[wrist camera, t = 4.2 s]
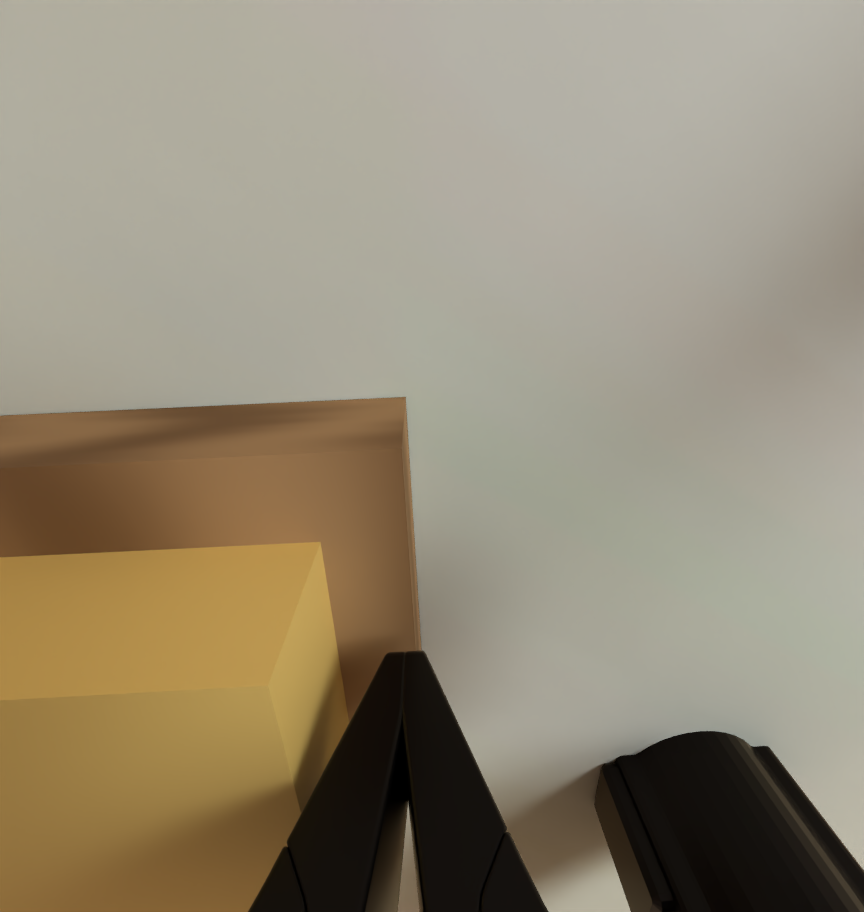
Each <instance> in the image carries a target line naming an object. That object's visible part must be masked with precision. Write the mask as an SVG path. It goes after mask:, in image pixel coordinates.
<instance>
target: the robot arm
mask: <svg viewBox="0 0 864 912" xmlns="http://www.w3.org/2000/svg"><path fill="white" fill-rule="evenodd" d="M408 803H409V812H410V822H411V832H412V841H413V851H414V860H415V870H416V880H417V889H418V899H419V909H420V912H548V910H547V908H546V907H545V905H544V903H543V901H542V899H541V897H540V895H539V893H538V891H537V889H536V887H535V885H534V883H533V881H532V879H531V877H530V875H529V873H528V871H527V869H526V867H525V865H524V863H523V861H522V859H521V856H520V854H519V852H518V850H517V848H516V846H515V844H514V841H513V839H512V837H511V835H510V833H509V832H506V830H507V828H506V825H505V823H504V821H503V818H502V816H501V814H500V812H499V810H498V808H497V806H496V803H495V801H494V799H493V797H492V795H491V793H490V791H489V788H488V786H487V784H486V782H485V780H484V778H483V776H482V773H481V771H480V769H479V767H478V765H477V763H476V761H475V758H474V756H473V754H472V752H471V750H470V748H469V746H468V743H467V741H466V739H465V737H464V735H463V733H462V730H461V728H460V726H459V724H458V722H457V720H456V718H455V715H454V713H453V711H452V709H451V707H450V705H449V703H448V700H447V698H446V696H445V694H444V692H443V690H442V688H441V685H440V683H439V681H438V679H437V677H436V675H435V673H434V670H433V668H432V666H431V664H430V662H429V660H428V658H427V655H426V654H425V652H424V651H406V652H404V651H402V652H388V653H387V654H386V655H385V656H384V658H383V660H382V662H381V664H380V665H379V667H378V669H377V671H376V673H375V675H374V677H373V679H372V681H371V682H370V684H369V686H368V688H367V690H366V692H365V694H364V696H363V698H362V699H361V701H360V703H359V705H358V707H357V709H356V711H355V713H354V715H353V716H352V718H351V720H350V722H349V724H348V726H347V728H346V730H345V732H344V733H343V735H342V737H341V739H340V741H339V743H338V745H337V747H336V749H335V750H334V752H333V754H332V756H331V758H330V760H329V762H328V764H327V766H326V767H325V769H324V771H323V773H322V775H321V777H320V779H319V781H318V783H317V784H316V786H315V788H314V790H313V792H312V794H311V796H310V798H309V800H308V801H307V803H306V805H305V807H304V809H303V811H302V813H301V815H300V817H299V818H298V820H297V822H296V824H295V826H294V828H293V830H292V832H291V834H290V836H289V837H288V839H287V846H288V847H287V846H285V847H283V848H282V850H281V852H280V854H279V856H278V858H277V860H276V861H275V863H274V865H273V867H272V869H271V871H270V873H269V875H268V877H267V878H266V880H265V882H264V884H263V886H262V887H261V889H260V891H259V893H258V895H257V896H256V898H255V900H254V902H253V904H252V905H251V907H250V909H249V911H248V912H397V911H398V901H399V890H400V880H401V870H402V859H403V849H404V838H405V828H406V818H407V807H408ZM594 805H595V809H596V812H597V815H598V818H599V821H600V823H601V826H602V829H603V832H604V835H605V838H606V841H607V844H608V847H609V849H610V852H611V855H612V858H613V861H614V864H615V867H616V870H617V873H618V875H619V878H620V881H621V884H622V887H623V890H624V893H625V896H626V899H627V901H628V904H629V907H630V910H631V912H864V870H863V869H862V868H861V866H860V865H859V864H858V862H857V861H856V860H855V858H854V857H853V856H852V855H851V853H850V852H849V851H848V849H847V848H846V847H845V845H844V844H843V843H842V841H841V840H840V839H839V838H838V836H837V835H836V834H835V832H834V831H833V830H832V828H831V827H830V826H829V825H828V823H827V822H826V821H825V819H824V818H823V817H822V815H821V814H820V813H819V812H818V810H817V809H816V808H815V806H814V805H813V804H812V802H811V801H810V800H809V798H808V797H807V796H806V795H805V793H804V792H803V791H802V789H801V788H800V787H799V785H798V784H797V783H796V782H795V780H794V779H793V778H792V776H791V775H790V774H789V772H788V771H787V770H786V768H785V767H784V766H783V765H782V763H781V762H780V761H779V759H778V758H777V757H776V755H775V754H774V753H773V752H772V750H771V749H770V748H769V747H768V746H758V747H752V746H750V745H749V744H748V743H747V742H745V741H744V740H743V739H741V738H739V737H737V736H734V735H731V734H727V733H722V732H715V731H700V732H692V733H686V734H681V735H677V736H673V737H671V738H668V739H665V740H662V741H660V742H658V743H656V744H654V745H652V746H650V747H648V748H647V749H645V750H643V751H642V752H640V753H638V754H636V755H625V756H620V757H618V758H617V759H616V761H615V763H606V764H604V765H603V767H602V769H601V772H600V777H599V782H598V788H597V793H596V798H595V803H594Z"/></svg>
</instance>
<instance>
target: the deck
mask: <svg viewBox="0 0 864 912" xmlns="http://www.w3.org/2000/svg"><path fill="white" fill-rule="evenodd" d="M310 542H321V548H322V555H323V561H324V567H325V574H326V580H327V586H328V592H329V599H330V605H331V611H332V618H333V624H334V630H335V637H336V643H337V649H338V655H339V662H340V668H341V674H342V681H343V687H344V693H345V699H346V706H347V712H348V718H349V722H350V720H351V718H352V716H353V715H354V713H355V711H356V709H357V707H358V705H359V703H360V701H361V699H362V698H363V696H364V694H365V692H366V690H367V688H368V686H369V684H370V682H371V681H372V679H373V677H374V675H375V673H376V671H377V669H378V667H379V665H380V664H381V662H382V660H383V658H384V656H385V655H386V654H387V653H388V652H402V651H404V652H406V651H421V636H420V620H419V604H418V588H417V572H416V556H415V540H414V524H413V509H412V493H411V477H410V461H409V445H408V429H407V413H406V397H398V398H376V399H354V400H332V401H311V402H289V403H267V404H246V405H224V406H202V407H181V408H159V409H137V410H115V411H94V412H72V413H50V414H29V415H7V416H0V557H20V556H41V555H62V554H83V553H103V552H124V551H145V550H165V549H186V548H207V547H227V546H248V545H269V544H289V543H310Z"/></svg>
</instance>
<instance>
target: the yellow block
mask: <svg viewBox="0 0 864 912" xmlns="http://www.w3.org/2000/svg"><path fill="white" fill-rule="evenodd" d="M348 724H349V718H348V712H347V706H346V699H345V693H344V687H343V681H342V674H341V668H340V662H339V655H338V649H337V643H336V637H335V630H334V624H333V618H332V611H331V605H330V599H329V592H328V586H327V580H326V574H325V567H324V561H323V555H322V548H321V542H310V543H289V544H269V545H248V546H227V547H207V548H186V549H165V550H145V551H124V552H103V553H83V554H62V555H41V556H20V557H0V912H248V911H249V909H250V907H251V905H252V904H253V902H254V900H255V898H256V896H257V895H258V893H259V891H260V889H261V887H262V886H263V884H264V882H265V880H266V878H267V877H268V875H269V873H270V871H271V869H272V867H273V865H274V863H275V861H276V860H277V858H278V856H279V854H280V852H281V850H282V848H283V847H285V846H287V839H288V837H289V836H290V834H291V832H292V830H293V828H294V826H295V824H296V822H297V820H298V818H299V817H300V815H301V813H302V811H303V809H304V807H305V805H306V803H307V801H308V800H309V798H310V796H311V794H312V792H313V790H314V788H315V786H316V784H317V783H318V781H319V779H320V777H321V775H322V773H323V771H324V769H325V767H326V766H327V764H328V762H329V760H330V758H331V756H332V754H333V752H334V750H335V749H336V747H337V745H338V743H339V741H340V739H341V737H342V735H343V733H344V732H345V730H346V728H347V726H348ZM287 847H288V846H287Z"/></svg>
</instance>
